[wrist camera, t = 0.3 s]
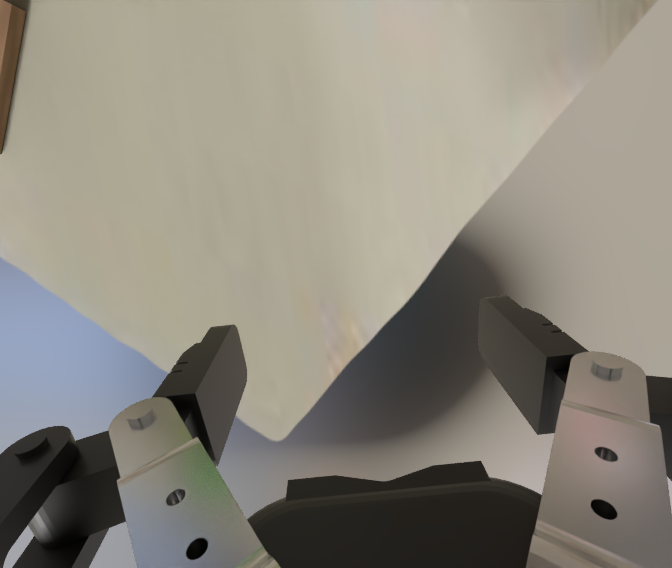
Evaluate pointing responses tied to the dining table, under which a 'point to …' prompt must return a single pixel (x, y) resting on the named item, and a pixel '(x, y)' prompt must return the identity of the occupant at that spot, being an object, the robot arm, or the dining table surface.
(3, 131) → the shelf stand
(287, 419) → the dining table surface
